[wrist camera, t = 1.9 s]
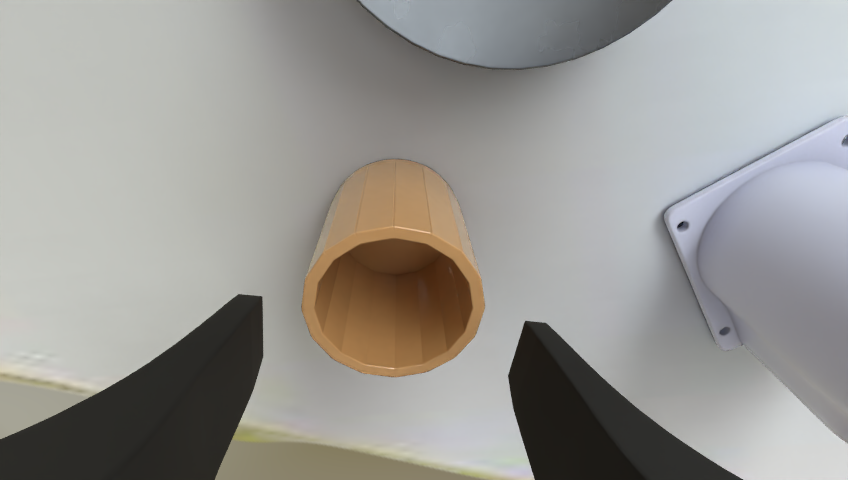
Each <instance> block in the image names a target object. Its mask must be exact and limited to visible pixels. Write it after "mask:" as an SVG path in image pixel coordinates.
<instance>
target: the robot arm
mask: <svg viewBox="0 0 848 480" xmlns="http://www.w3.org/2000/svg"><path fill="white" fill-rule="evenodd" d="M846 136H847V137H846ZM845 137H846V139H845V141H844V142H843V143H842V141H843V139H844V138H845ZM664 221H665V223H666V225H667V228H668V230H669V233H670V235H671V237H672V240H673V242H674V245H675V247H676V249H677V252H678V254H679V256H680V259H681V261H682V264H683V266H684V268H685V271H686V273H687V276H688V278H689V280H690V283H691V285H692V287H693V290H694V292H695V295H696V297H697V299H698V302H699V304H700V307H701V309H702V311H703V314H704V316H705V318H706V321H707V323H708V326H709V328H710V330H711V333H712V335H713V337H714V340H715V342H716V344H717V345H718V346H719V348H720V349H721V350H724V351H729V350H732V349H734V348H737V347H739V346H741V345H744V346H745V347H746V348H747V349H748V350H749V351H750V352H751V353H752V354H753V355H754V356H755V357H756V358H757V359H758V360H759V361H760V362H761V363H763V364H764V365H765V366H766V367H767V368H768V369H769V370H770V371H771V372H772V373H773V374H774V375H775V376H776V377H777V378H778V379H779V380H780V381H781V382H782V383H783V384H784V385H785V386H786V387H787V388H788V389H789V390H790V391H791V392H792V393H793V394H794V395H795V396H796V397H797V398H798V399H799V400H800V401H801V402H802V403H803V404H804V405H805V406H806V407H807V408H808V409H809V410H810V411H811V412H812V413H813V414H814V415H815V416H816V417H817V418H818V419H819V420H820V421H821V422H822V423H823V424H824V425H825V426H827V427H828V428H829V429H830V430H831V431H832V432H833V433H834V434H836V435H837V436H838V437H839V438H841V439H842V440H843V441H845V442H846V443H848V116H842V117H839V118H836V119H835V120H833V121H831V122H829V123H827V124H825V125H823V126H821V127H820V128H818V129H816V130H814V131H812V132H810V133H808V134H806V135H804V136H803V137H801V138H799V139H797V140H795V141H793V142H791V143H789V144H788V145H786V146H784V147H782V148H780V149H778V150H776V151H774V152H773V153H771V154H769V155H767V156H765V157H763V158H761V159H759V160H757V161H756V162H754V163H752V164H750V165H748V166H746V167H744V168H742V169H741V170H739V171H737V172H735V173H733V174H731V175H729V176H727V177H726V178H724V179H722V180H720V181H718V182H716V183H714V184H712V185H711V186H709V187H707V188H705V189H703V190H701V191H699V192H697V193H695V194H694V195H692V196H690V197H688V198H686V199H684V200H682V201H680V202H679V203H677V204H675V205H673V206H671V207H670V208H669V209H667V211H666V212H665V215H664ZM683 221H684V223H683V225H682V226H681V227H680V228H677V226H678V224H679V223H681V222H683ZM722 328H723V329H722ZM262 359H263V308H262V296H252V295H242V294H238V295H237V296H236V297H234V298H233V299H232V300H230V301H229V302H228V303H227V304H225V305H224V306H223V307H222V308H221V309H219V310H218V311H217V312H216V313H215V314H213V315H212V316H211V317H210V318H208V319H207V320H206V321H205V322H203V323H202V324H201V325H200V326H198V327H197V328H196V329H194V330H193V331H192V332H191V333H189V334H188V335H187V336H185V337H184V338H183V339H182V340H180V341H179V342H178V343H176V344H175V345H173V346H172V347H171V348H169V349H168V350H166V351H165V352H164V353H162V354H161V355H159V356H158V357H156V358H155V359H154V360H152V361H151V362H149V363H148V364H146V365H145V366H143V367H142V368H140V369H138V370H137V371H135V372H134V373H132V374H130V375H129V376H127V377H125V378H124V379H122V380H120V381H119V382H117V383H115V384H113V385H112V386H110V387H108V388H107V389H105V390H103V391H101V392H99V393H97V394H95V395H93V396H92V397H90V398H88V399H86V400H84V401H82V402H80V403H78V404H76V405H74V406H72V407H70V408H68V409H66V410H64V411H62V412H60V413H58V414H56V415H54V416H52V417H50V418H48V419H46V420H44V421H42V422H39V423H37V424H35V425H33V426H30V427H28V428H26V429H24V430H21V431H19V432H17V433H15V434H12V435H10V436H8V437H5V438H3V439H0V480H215V477H216V475H217V472H218V470H219V467H220V465H221V463H222V460H223V458H224V456H225V453H226V451H227V449H228V447H229V444H230V442H231V440H232V438H233V436H234V433H235V431H236V429H237V427H238V424H239V422H240V420H241V417H242V415H243V413H244V411H245V408H246V406H247V404H248V401H249V399H250V397H251V394H252V392H253V389H254V386H255V383H256V379H257V376H258V373H259V369H260V366H261V362H262ZM508 378H509V384H510V391H511V397H512V403H513V408H514V412H515V416H516V419H517V423H518V426H519V429H520V433H521V436H522V439H523V443H524V446H525V449H526V452H527V456H528V459H529V462H530V465H531V469H532V472H533V475H534V478H535V480H743V479H741V478H739V477H738V476H736V475H734V474H732V473H731V472H729V471H727V470H725V469H724V468H722V467H721V466H719V465H717V464H716V463H714V462H712V461H711V460H709V459H708V458H706V457H704V456H703V455H701V454H700V453H698V452H697V451H695V450H694V449H692V448H691V447H689V446H688V445H686V444H685V443H683V442H682V441H680V440H679V439H678V438H676V437H675V436H673V435H672V434H670V433H669V432H668V431H666V430H665V429H664V428H662V427H661V426H660V425H658V424H657V423H656V422H654V421H653V420H652V419H650V418H649V417H648V416H647V415H645V414H644V413H643V412H641V411H640V410H639V409H638V408H636V407H635V406H634V405H633V404H631V403H630V402H629V401H628V400H627V399H626V398H625V397H623V396H622V395H621V394H620V393H619V392H618V391H616V390H615V389H614V388H613V387H612V386H611V385H610V384H609V383H608V382H606V381H605V380H604V379H603V378H602V377H601V376H600V375H599V374H598V373H597V372H596V371H595V370H594V369H593V368H592V367H591V366H589V365H588V364H587V363H586V362H585V361H584V360H583V359H582V358H581V357H580V356H579V355H578V354H577V353H576V352H575V351H574V350H573V349H572V348H571V347H570V346H569V345H568V344H567V343H566V342H565V341H564V340H563V339H562V338H561V337H560V336H559V335H558V334H557V333H556V332H555V331H554V330H553V329H552V328H551V327H550V326H549V325H548V324H547V323H541V322H530V321H525V323H524V326H523V330H522V333H521V336H520V339H519V342H518V346H517V349H516V352H515V355H514V359H513V362H512V365H511V368H510V372H509V375H508Z"/></svg>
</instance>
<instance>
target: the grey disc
mask: <svg viewBox="0 0 848 480" xmlns="http://www.w3.org/2000/svg"><path fill="white" fill-rule="evenodd" d="M357 1H358V2H359V3H360V4H361V6H362V7H363V8H365V9H366V10H367V11H368V12H369V13H370V14H372V15H373V16H374V17H375V18H376V19H377V20H379V21H380V22H381V23H382V24H383V25H384V26H386V27H387V28H388V29H390V30H391V31H393V32H394V33H396V34H397V35H399V36H400V37H402V38H403V39H405V40H407V41H408V42H410V43H411V44H413V45H415V46H417V47H419V48H421V49H423V50H426V51H428V52H430V53H432V54H434V55H436V56H438V57H441V58H445V59H448V60H451V61H454V62H457V63H461V64H464V65H469V66H475V67H481V68H487V69H504V70H522V69H531V68H539V67H547V66H551V65H555V64H559V63H563V62H567V61H570V60H574V59H577V58H580V57H582V56H585V55H587V54H590V53H592V52H595V51H597V50H600V49H602V48H604V47H606V46H608V45H609V44H611V43H613V42H615V41H617V40H618V39H620V38H622V37H624V36H626V35H628V34H629V33H631V32H632V31H634V30H635V29H636V28H638V27H639V26H641V25H642V24H644V23H645V22H646V21H648V20H649V19H651V18H652V17H653V16H655V15H656V14H657V13H658V12H660V11H661V10H662V9H663V8H664V7H665V6H666V5H667V4H669V3H670V2H671V1H672V0H357Z"/></svg>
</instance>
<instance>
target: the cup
mask: <svg viewBox="0 0 848 480" xmlns="http://www.w3.org/2000/svg"><path fill="white" fill-rule="evenodd" d="M301 308H302V313H303V315H304V318H305V321H306V323H307V326H308V329H309V332H310V334H311V337H312V338H313V339H314V340H315V341H316V342H317V343H318V344H319V345H320V346H321V348H322V349H323V350H324V351H325V352H326V353H327V354H328V355H329V356H330V357H331V358H332V359H334V360H335V361H338V362H340V363H342V364H344V365H346V366H348V367H350V368H352V369H354V370H357V371H359V372H361V373H362V372H363V373H365V374H372V375H380V376H388V377H400V376H407V375H413V374H419V373H425V372H426V371H427V372H428V371H430V370H432V369H434V368H436V367H438V366H440V365H442V364H444V363H446V362H448V361H450V360H452V359H453V358H455V357H456V356H457V355H458V354H459V353H460V352H461V351H462V350H463V349H464V347H465V346H466V345H467V344H468V343H469V342H470V341H471V340H472V339H473V338H474V337H475V335H476V333H477V330H478V327H479V324H480V321H481V318H482V315H483V312H484V309H485V302H484V294H483V287H482V280H481V276H480V273H479V269H478V266H477V263H476V259H475V256H474V253H473V249H472V246H471V243H470V239H469V236H468V233H467V229H466V226H465V223H464V219H463V216H462V212H461V209H460V206H459V203H458V201H457V199H456V197H455V195H454V193H453V191H452V189H451V188H450V186H449V185H448V184H447V182H446V181H445V180H444V179H443V178H442V177H441V176H440V175H438V174H437V173H436V172H434V171H433V170H431V169H430V168H428V167H426V166H424V165H422V164H419V163H416V162H413V161H409V160H402V159H389V160H381V161H377V162H373V163H371V164H368V165H366V166H364V167H362V168H360V169H358V170H357V171H356V172H354V173H353V174H352V175H350V176H349V177H348V178H347V179H346V180H345V181H344V183H343V184H342V185H341V187H340V188H339V190H338V192H337V194H336V196H335V198H334V199H333V201H332V203H331V206H330V209H329V212H328V215H327V217H326V220H325V223H324V226H323V229H322V232H321V235H320V238H319V240H318V243H317V246H316V249H315V252H314V255H313V258H312V260H311V263H310V266H309V269H308V272H307V275H306V278H305V281H304V290H303V298H302V306H301Z"/></svg>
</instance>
